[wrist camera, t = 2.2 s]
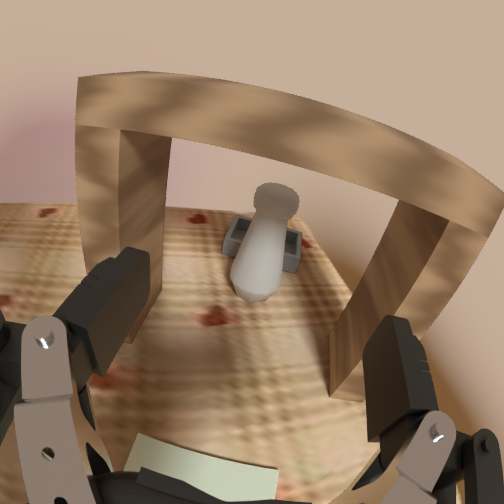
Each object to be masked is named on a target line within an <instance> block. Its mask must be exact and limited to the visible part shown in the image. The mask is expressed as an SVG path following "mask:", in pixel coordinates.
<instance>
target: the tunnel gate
mask: <svg viewBox="0 0 504 504" xmlns="http://www.w3.org/2000/svg"><path fill="white" fill-rule="evenodd" d="M172 137H173V138H178V139H184V140H189V141H194V142H199V143H204V144H209V145H214V146H219V147H223V148H228V149H232V150H236V151H241V152H245V153H249V154H253V155H257V156H261V157H266V158H269V159H273V160H277V161H281V162H285V163H288V164H292V165H295V166H299V167H302V168H306V169H309V170H312V171H316V172H319V173H323V174H326V175H329V176H332V177H335V178H339V179H342V180H345V181H348V182H351V183H354V184H357V185H360V186H363V187H366V188H368V189H372V190H374V191H377V192H380V193H383V194H386V195H388V196H391V197H394V198H396V199H399V201H398V203H397V206H396V208H395V211H394V213H393V215H392V217H391V219H390V222H389V224H388V226H387V228H386V230H385V232H384V234H383V236H382V239H381V241H380V243H379V245H378V247H377V249H376V251H375V253H374V255H373V257H372V259H371V261H370V263H369V265H368V267H367V269H366V271H365V273H364V275H363V276H362V278H361V280H360V282H359V284H358V286H357V288H356V290H355V291H354V293H353V295H352V297H351V299H350V300H349V302H348V304H347V306H346V308H345V309H344V311H343V313H342V315H341V316H340V318H339V320H338V321H337V323H336V325H335V327H334V328H333V330H332V332H331V333H330V335H329V346H330V398H337V399H344V400H351V401H359V402H363V401H364V400H365V399H366V398H365V385H364V373H363V363H362V355H363V350H364V347H365V345H366V343H367V342H368V340H369V339H370V337H371V336H372V334H373V333H374V331H375V330H376V328H377V327H378V325H379V324H380V322H381V321H382V319H383V318H384V317H385V316H386V315H393V316H397V317H402V318H406V319H408V321H409V323H410V326H411V330H412V333H413V335H415V336H416V337H417V338H418V340H420V339H421V337H422V336H423V335H424V333H425V332H426V331H427V330H428V328H429V327H430V326H431V325H432V323H433V322H434V321H435V319H436V318H437V317H438V315H439V314H440V313H441V311H442V310H443V309H444V307H445V306H446V304H447V303H448V302H449V300H450V299H451V297H452V296H453V294H454V293H455V292H456V290H457V289H458V287H459V285H460V284H461V283H462V281H463V279H464V278H465V276H466V275H467V273H468V272H469V270H470V268H471V267H472V265H473V264H474V262H475V260H476V259H477V257H478V255H479V253H480V252H481V250H482V248H483V247H484V245H485V243H486V241H487V239H488V237H489V236H490V234H491V232H492V230H493V228H494V226H495V224H496V222H497V220H498V218H499V216H500V214H501V212H502V210H503V208H504V192H503V191H502V190H500V189H499V188H498V187H497V186H495V185H494V184H493V183H491V182H490V181H489V180H487V179H486V178H485V177H483V176H482V175H481V174H479V173H478V172H477V171H475V170H474V169H472V168H471V167H469V166H468V165H467V164H465V163H464V162H462V161H461V160H459V159H458V158H456V157H454V156H452V155H450V154H449V153H446V152H445V151H443V150H441V149H439V148H437V147H435V146H432V145H430V144H428V143H426V142H424V141H422V140H420V139H418V138H415V137H413V136H411V135H409V134H406V133H404V132H402V131H399V130H397V129H395V128H392V127H390V126H387V125H385V124H382V123H380V122H377V121H374V120H372V119H369V118H367V117H364V116H361V115H358V114H355V113H352V112H350V111H347V110H344V109H341V108H338V107H335V106H331V105H328V104H325V103H321V102H318V101H315V100H311V99H308V98H304V97H301V96H297V95H293V94H289V93H285V92H281V91H277V90H272V89H268V88H264V87H258V86H254V85H249V84H243V83H239V82H233V81H227V80H221V79H215V78H208V77H201V76H192V75H184V74H175V73H163V72H148V71H136V72H122V73H110V74H100V75H93V76H84V77H78V86H77V99H76V118H75V169H76V190H77V203H78V214H79V224H80V233H81V240H82V248H83V254H84V261H85V267H86V273H87V276H88V273H89V272H90V271H91V270H92V269H93V268H94V267H95V266H96V264H98V263H100V262H101V261H103V260H105V259H107V258H109V257H113V258H116V257H117V256H118V255H119V254H120V253H121V251H122V250H123V249H124V248H125V247H127V246H129V247H133V248H136V249H140V250H143V251H146V252H148V253H149V255H150V294H149V298H148V301H147V303H146V305H145V307H144V308H143V310H142V312H141V313H140V315H139V316H138V318H137V320H136V321H135V323H134V325H133V326H132V328H131V330H130V331H129V333H128V335H127V336H126V338H125V340H124V342H127V343H129V344H131V342H132V340H133V339H134V337H135V335H136V333H137V332H138V330H139V328H140V326H141V325H142V323H143V321H144V319H145V318H146V316H147V314H148V312H149V311H150V309H151V307H152V305H153V304H154V302H155V300H156V299H157V297H158V295H159V294H160V292H161V290H162V256H163V233H164V216H165V202H166V201H165V200H166V189H167V178H168V167H169V158H170V148H171V141H172Z"/></svg>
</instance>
